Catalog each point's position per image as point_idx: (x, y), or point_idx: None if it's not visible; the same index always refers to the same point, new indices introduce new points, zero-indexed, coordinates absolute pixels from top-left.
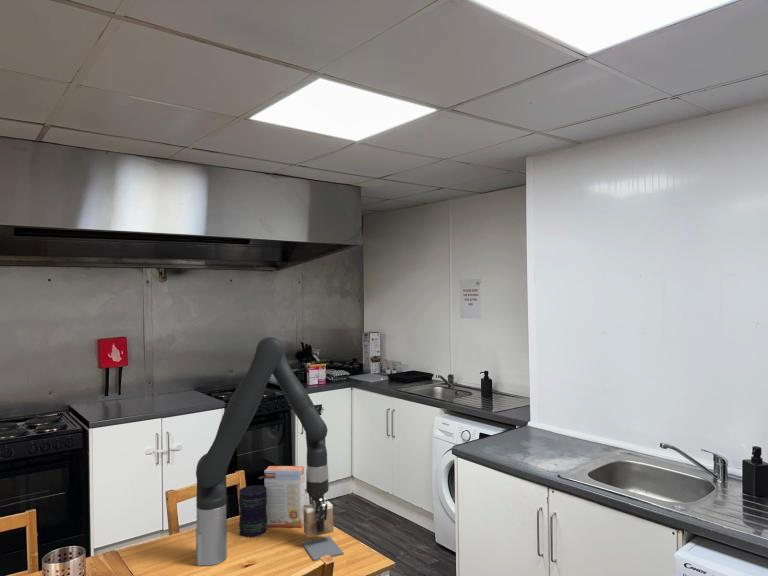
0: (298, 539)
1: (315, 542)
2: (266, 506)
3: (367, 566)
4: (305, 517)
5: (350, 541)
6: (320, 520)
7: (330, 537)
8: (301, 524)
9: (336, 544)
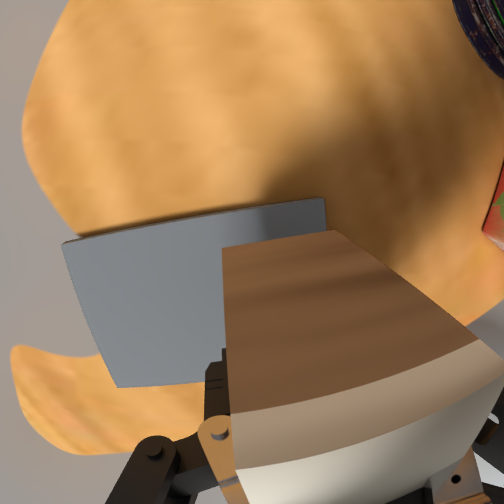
0: (381, 188)
1: None
2: None
3: (35, 412)
4: (331, 314)
5: None
6: (141, 449)
7: None
8: (490, 235)
9: None
